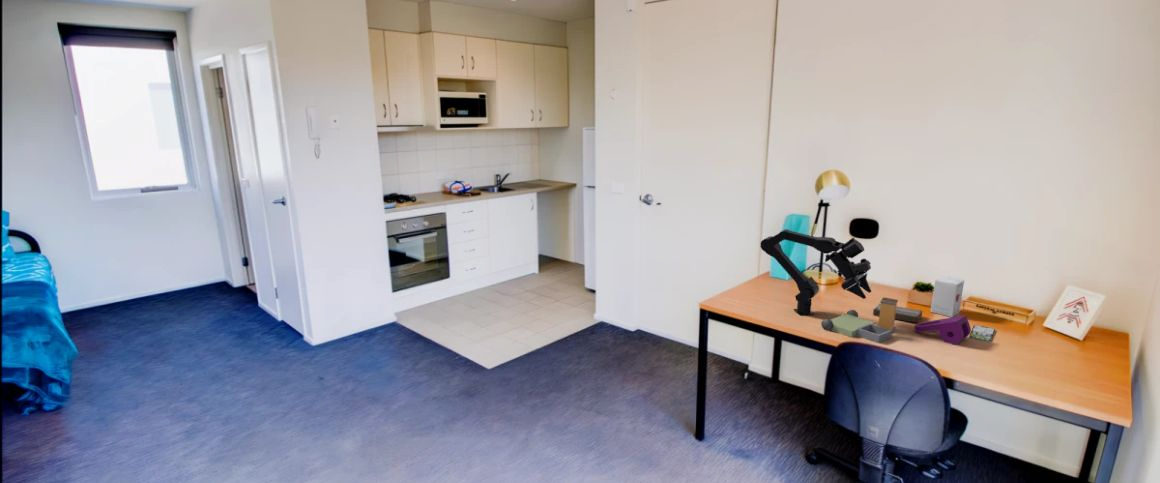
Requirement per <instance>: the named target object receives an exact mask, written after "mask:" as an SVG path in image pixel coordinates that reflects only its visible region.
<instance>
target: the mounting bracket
mask: <svg viewBox="0 0 1160 483" xmlns="http://www.w3.org/2000/svg"><path fill="white" fill-rule="evenodd" d="M913 329H914V331H915V332H916V333H923V332H924V333H925V332H930V331H937V332H938V334H939V337H940V339H941V340H942V341H943V342H944V343H946V344H951V345H957V344H959V343H960V342H961V341H962V340H964V339H965V338H967V337H969V335H970V333H971V331H972V328H971V325H970V323H969V320H968V317H967V315H960V316H953V317H947V318H941V319H935V320H934V319H933V320H928V321H924V322H920V323H919V322H918V323H916V324H915V325H914V326H913Z"/></svg>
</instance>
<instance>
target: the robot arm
mask: <svg viewBox="0 0 1160 483" xmlns="http://www.w3.org/2000/svg"><path fill="white" fill-rule="evenodd" d="M782 241H789V242H792V243H797V244H801V245H804V246H807V247H808V246H809V247H811V248H813V249H815V250H816V251H818V252H821V253H822V254H826V255H825V259H824V262H825V263H827V262H828V261H831V263H833V265H834V266H835V267H836V268H837V272H838V274H841V275H842V276H843V280H844V281H842V282H841V288H842V289H843V290H844V291H845V290H846V292H847V291H848V292H849V293H852V294H854V295H856V296H857V297H859V298H861V299H863V300H865V299H866V298H867V297H866V295H865V292H864V291H866V292H867V293H869V294H870V293H871V292H872V290H871V286H870V284H869V282H868V280H867V278H868V277H867V276H868V272H869V271H870V270H871V269H872V266H871V262H870V261H869V260H868V259H866V258H861V259H860V262H858V263H855V262H854V261H851V260H850V259H849V258H851V259H854V258H856V257H857V256H858V255H860V254H862V253H863V252H865V247H864V246H863V244H862V243H861V242H860V241H859V240H857V239H855V237H852V238H850V239H849V240H848V241H846V242H845V243H843V242H841V241H837V240H836V239H835V238H833V237H828V236H813V235H809V234H804V233H802V232H797V231H794V230H793V231H792V230H790V229H787V228H785V229H783V230H781V231H779V233H776V234H775V235H773V236H767V237H766V238H764V239H762V240H761V241H760V245H759V246H760V249H761V251H763V252H764V253H765V254H767V255H769V256H770V257H772V258H774V260H776V261H777V263H778V264H779V265H780V266H781V267H782V269H783V270H784V271H785V272H786V273H787V274H788V275H789V276H790V278H792V280H793V281H794V282H795V284H796V286H797V289H798V291H799V292H798V293H797V294H796V295H795V296H794V298H795V300H796V302H797V304H796V308H793V311H794V312H795V313H797V315H799V316H809V315H811V316H813V315H814V312H812V311H811V310H812V300H813V298H814V297H815V296H816V295H817V294H818V293H819V292H820V287H819V285H818V284H819V283H818V282H817V281H815V279H814V277H812V276H810V277H807V276H805V275H804V274H803V273H802V272H801V270H800V269H799V268H798V267H797V266H796V264H795V263H794V262H793V261H792V260H791V259H790V258H789V257H788V256H787V254H786V253H785V252H784V250H783V248H782V246H781V244H780V243H781V242H782ZM863 290H864V291H863Z"/></svg>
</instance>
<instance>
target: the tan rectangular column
mask: <svg viewBox="0 0 1160 483" xmlns="http://www.w3.org/2000/svg"><path fill="white" fill-rule="evenodd" d="M898 302H899V300H898V299H896V298H888V297H882V299H881V300H880V302H879V304H881V307H880V315H879V316H878V325H877V326H880V327H883V328H886V329H889V330H892V334H893V332H894V331H895V329H896V326H895V321H896V319H895V314H896V306H898V305H897V304H898Z"/></svg>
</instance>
